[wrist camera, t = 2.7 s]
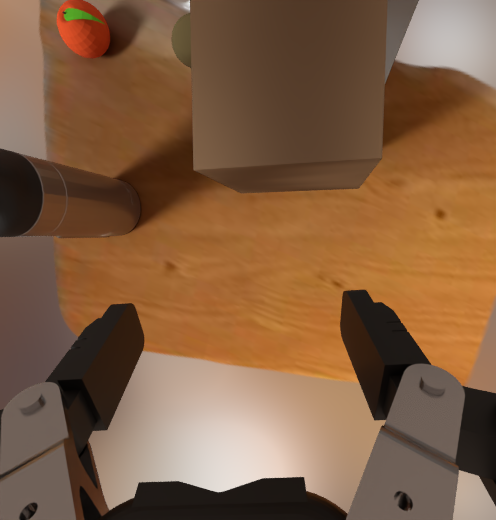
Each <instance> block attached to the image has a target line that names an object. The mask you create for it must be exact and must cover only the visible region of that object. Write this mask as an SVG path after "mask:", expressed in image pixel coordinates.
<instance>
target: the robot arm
mask: <svg viewBox="0 0 496 520" xmlns="http://www.w3.org/2000/svg"><path fill="white" fill-rule="evenodd" d="M140 211H141V207H140V200H139V197H138V195H137V193H136V191H135V190H134V188H133V187H132V186H131V185H130V184H128V183H126V182H125V181H121V180H118V179H114V178H110V177H107V176H103V175H99V174H96V173H92V172H88V171H84V170H80V169H77V168H73V167H69V166H65V165H61V164H58V163H54V162H50V161H46V160H42V159H38V158H34V157H31V156H27V155H23V154H19V153H15V152H12V151H7V150H4V149H0V237H16V236H17V237H18V236H56V237H58V238H100V237H108V236H119V235H124V234H127V233H128V232H130V231H131V230H132V229H133V228H134V227H135V226H136V224H137V222H138V220H139V217H140ZM340 329H341V336H342V339H343V342H344V345H345V347H346V350H347V352H348V355H349V357H350V360H351V362H352V365H353V368H354V370H355V373H356V375H357V378H358V380H359V383H360V385H361V388H362V390H363V393H364V395H365V398H366V401H367V403H368V405H369V408H370V410H371V413H372V416H373V418H374V420H386V422H385V425H384V426H382V427H381V429H380V431H379V434H378V436H377V439H376V442H375V444H374V447H373V450H372V452H371V455H370V457H369V460H368V463H367V465H366V468H365V471H364V473H363V476H362V479H361V481H360V484H359V487H358V489H357V492H356V494H355V497H354V500H353V502H352V505H351V508H350V510H349V513H348V514H347V513H346V512H345V511H344V510H342V509H341V508H340V507H338V506H337V505H336V504H334V503H332V502H331V501H329V500H327V499H326V498H324V497H321V496H319V495H317V494H315V493H311V492H308V491H306V487H305V481H304V477H292V478H264V479H260V480H257V481H254V482H251V483H248V484H245V485H242V486H239V487H236V488H233V489H230V490H227V491H224V492H214V491H210V490H207V489H203V488H200V487H197V486H193V485H190V484H186V483H183V482H179V481H173V482H172V481H171V482H142V483H139V484H138V487H137V490H136V494H135V497H134V498H133V499H130V500H128V501H126V502H124V503H122V504H120V505H118V506H116V507H115V508H113V509H112V510H110V511H109V509H108V506H107V504H106V501H105V498H104V495H103V492H102V488H101V484H100V480H99V476H98V472H97V468H96V464H95V460H94V456H93V452H92V448H91V445H90V443H89V441H88V439H89V437H90V435H91V433H92V431H99V430H107V429H108V427H109V425H110V422H111V420H112V418H113V416H114V414H115V411H116V409H117V407H118V404H119V402H120V400H121V398H122V396H123V393H124V391H125V389H126V386H127V384H128V382H129V380H130V378H131V375H132V373H133V371H134V369H135V366H136V364H137V362H138V360H139V357H140V355H141V353H142V351H143V348H144V333H143V330H142V327H141V324H140V321H139V318H138V314H137V311H136V308H135V306H134V305H133V304H132V303H129V304H113V305H111V306H110V307H109V308H108V309H107V311H106V312H105V313H104V315H103V316H102V318H98V319H96V320H95V321H94V322H93V323H91V324H90V325H89V326H87V327H86V328H85V329H84V331H83V332H82V333H81V335H80V336H79V337H78V340H77V341H75V343H74V344H73V345H72V347H71V350H69V351H68V352H67V353H66V355H65V356H64V358H63V359H62V360H61V361H60V363H59V364H58V365H57V367H56V368H55V370H54V371H53V372H52V373H51V375H50V376H49V377H48V379H47V380H46V381H45V382H44V383H39V384H36V385H33V386H31V387H29V388H27V389H25V390H24V391H22V392H21V393H19V394H18V395H16V396H15V397H14V398H13V399H12V400H11V401H10V402H9V403H8V405H7V406H6V407H5V409H2V410H0V520H452V519H453V512H454V505H455V497H456V490H457V482H458V474H459V470H461V471H464V472H468V473H471V474H475V475H478V476H479V477H480V479H481V480H482V482H483V484H484V486H485V488H486V489H487V491H488V493H489V495H490V497H491V498H492V500H493V502H494V504H495V506H496V393H491V392H487V391H482V390H477V389H472V388H468V387H464V386H462V385H461V384H460V382H459V381H458V380H457V379H456V378H455V377H454V376H453V375H451V374H450V373H448V372H447V371H445V370H443V369H441V368H439V367H436V366H433V365H431V363H430V362H429V361H428V359H427V358H426V356H425V355H424V353H423V352H422V351H421V349H420V348H419V346H418V345H417V343H416V342H415V341H414V339H413V338H412V336H411V335H410V333H409V332H407V329H406V328H405V326H404V325H403V323H401V321H400V319H399V318H398V316H397V315H396V313H395V312H394V311H393V310H392V309H390V308H389V307H388V306H386V305H385V304H383V303H382V302H378V303H374V302H373V300H372V299H371V297H370V296H369V294H368V292H367V291H366V290H351V291H344V292H343V297H342V309H341V321H340Z"/></svg>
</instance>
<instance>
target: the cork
mask: <svg viewBox="0 0 496 520" xmlns="http://www.w3.org/2000/svg"><path fill="white" fill-rule="evenodd" d="M172 46H173V50H174V52H175V54H176V56H177V58H178V59H179V60H180V61H181V62H182V63H183V64H184V65H186V66H188V67H190V68H191V22H190V13H188V14H186V15H183V16H182V17H181V18H180V19H179V20H178V21H177V22H176V24H175V26H174V28H173V31H172Z"/></svg>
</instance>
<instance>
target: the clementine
mask: <svg viewBox="0 0 496 520" xmlns="http://www.w3.org/2000/svg"><path fill="white" fill-rule="evenodd" d="M57 26H58V29H59V33H60V35H61V37H62V39H63V40H64V42H65V43H66V45H67V46H68V47H69V48H70V49H71V50H72V51H74V52H75V53H77V54H79V55H81V56H83V57H87V58H97V57H100V56H102V55H103V54H104V53H105V52H106V51H107V49H108V47H109V44H110V31H109V27H108V25H107V22H106V20H105V19H104V17H103V15H102V14H101V13H100V12H99V11H98V10H97V9H96V8H95V7H94V6H93V5H91V4H90V3H88V2H86V1H83V0H68V1H66V2H65V3H64V4H63V5H62V6H61V7H60V9H59V11H58V14H57Z"/></svg>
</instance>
